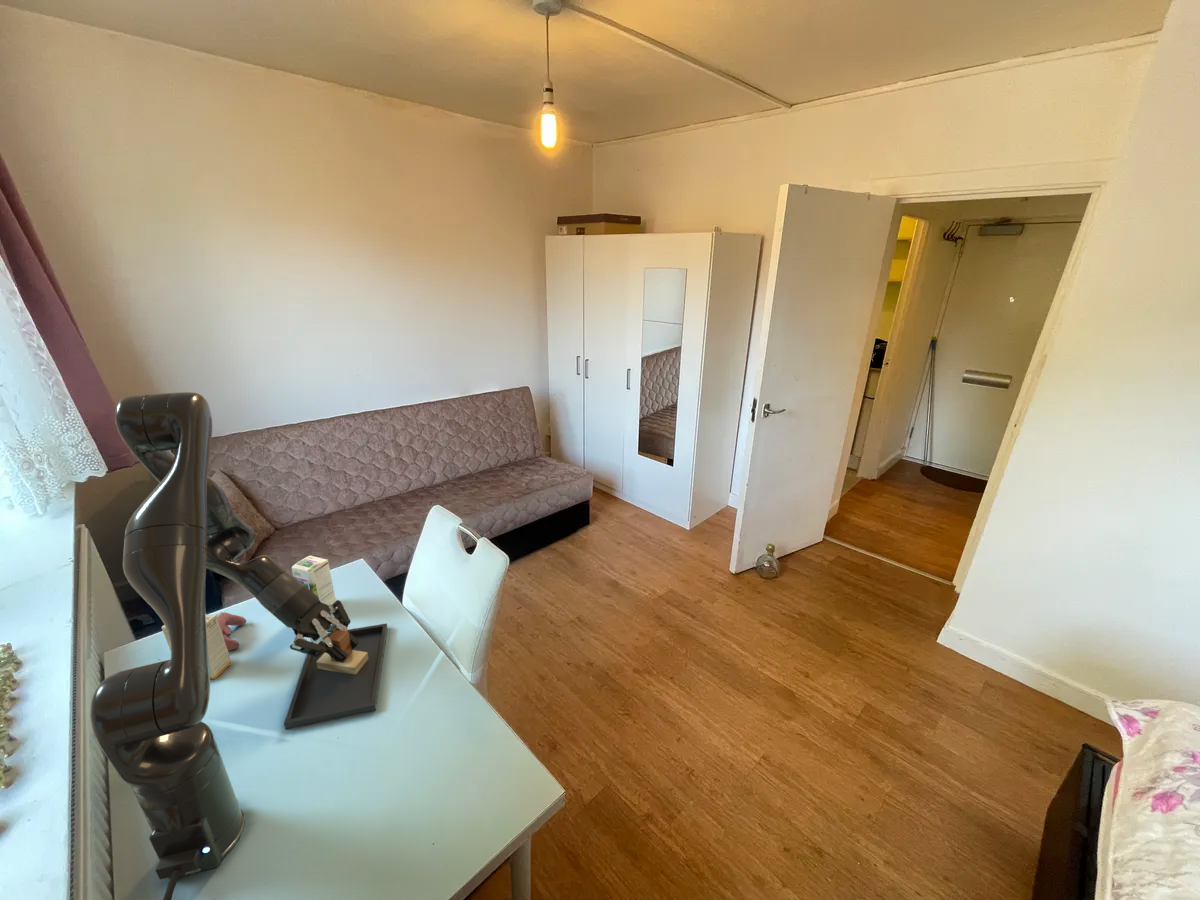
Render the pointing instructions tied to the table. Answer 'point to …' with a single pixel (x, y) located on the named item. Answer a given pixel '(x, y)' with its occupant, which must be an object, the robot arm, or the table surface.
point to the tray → (339, 684)
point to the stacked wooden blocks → (351, 662)
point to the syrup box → (316, 577)
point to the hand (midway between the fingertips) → (350, 652)
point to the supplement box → (212, 647)
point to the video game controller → (226, 620)
